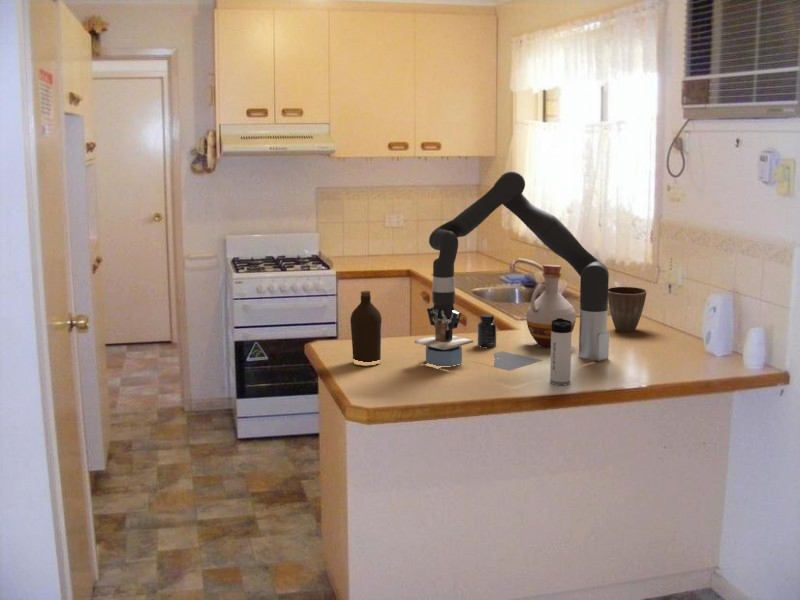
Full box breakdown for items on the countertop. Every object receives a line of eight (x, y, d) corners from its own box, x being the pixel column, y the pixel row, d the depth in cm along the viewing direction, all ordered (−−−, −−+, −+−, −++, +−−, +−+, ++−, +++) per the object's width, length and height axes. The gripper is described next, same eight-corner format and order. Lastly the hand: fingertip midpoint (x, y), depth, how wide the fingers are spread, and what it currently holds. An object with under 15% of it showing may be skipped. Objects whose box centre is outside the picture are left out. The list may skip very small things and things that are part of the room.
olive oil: (360, 368, 302) (358, 295, 297) (346, 361, 311) (344, 290, 306) (387, 364, 307) (386, 292, 302) (373, 357, 316) (372, 287, 311)
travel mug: (567, 379, 287) (569, 317, 283) (572, 385, 281) (573, 322, 277) (548, 379, 287) (549, 318, 283) (552, 385, 281) (553, 322, 277)
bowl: (468, 364, 306) (468, 347, 305) (444, 371, 298) (444, 353, 297) (443, 358, 315) (443, 341, 314) (418, 364, 307) (418, 347, 305)
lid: (473, 342, 305) (473, 322, 303) (444, 349, 295) (444, 329, 294) (443, 335, 315) (443, 316, 313) (414, 342, 305) (414, 323, 304)
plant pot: (646, 335, 345) (648, 294, 341) (606, 334, 347) (608, 293, 344) (643, 326, 359) (645, 287, 356) (604, 325, 362) (606, 286, 358)
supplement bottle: (474, 346, 331) (474, 314, 328) (491, 344, 333) (491, 312, 331) (482, 350, 325) (482, 318, 322) (499, 348, 327) (499, 316, 325)
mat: (542, 361, 308) (543, 360, 308) (509, 372, 296) (509, 370, 296) (502, 352, 321) (502, 351, 321) (468, 362, 309) (468, 360, 309)
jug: (549, 355, 317) (551, 271, 311) (512, 346, 330) (513, 265, 325) (585, 346, 329) (587, 264, 323) (548, 337, 343) (549, 259, 337)
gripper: (467, 290, 299) (466, 341, 302) (436, 285, 309) (436, 334, 312) (451, 293, 294) (451, 344, 297) (420, 288, 304) (421, 337, 307)
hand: (443, 339), depth 305 cm, fingers closed on lid, 4 cm apart
